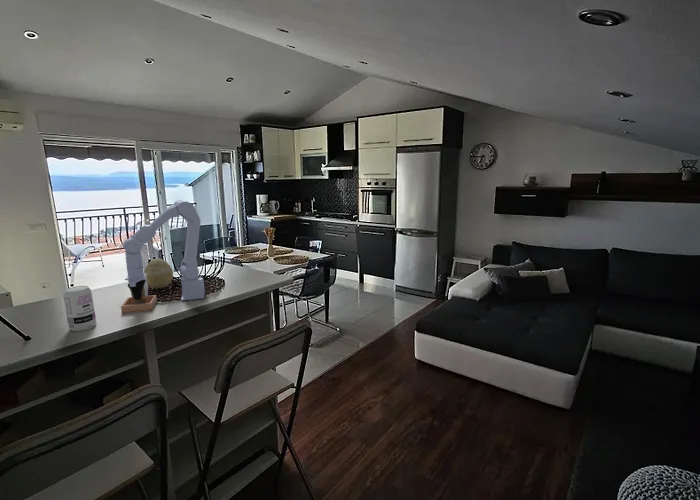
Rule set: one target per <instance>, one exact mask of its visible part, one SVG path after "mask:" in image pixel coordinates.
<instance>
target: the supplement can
mask: <svg viewBox="0 0 700 500" xmlns="http://www.w3.org/2000/svg"><path fill="white" fill-rule="evenodd" d="M62 296H63V301H64V308H65V309H64V310H65V313H66V319H67V324H68V325H67V326H68V330H70V331H71V332H84V331H88V330H90V329H93V328H94V327H95V326H96V325H97V318H96V317H97V316H96V311H95V305H94V298H93V293H92V289H91V288H90V287H89V286H88V285H78V286H72V287H68V288H66V289H64V292H63V295H62Z"/></svg>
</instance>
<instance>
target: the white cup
mask: <svg viewBox="0 0 700 500" xmlns="http://www.w3.org/2000/svg"><path fill="white" fill-rule="evenodd" d="M144 276H145V280H146V282H145V284H144V288H143V289H145V296H149V285H148V281H147V274H146V273H144ZM127 277H128V275H127V276H126V278H127ZM127 281H128V280H127ZM128 284H129V281H128ZM129 291H130V296H131V297H132V293H131V290H130V289H129Z"/></svg>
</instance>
